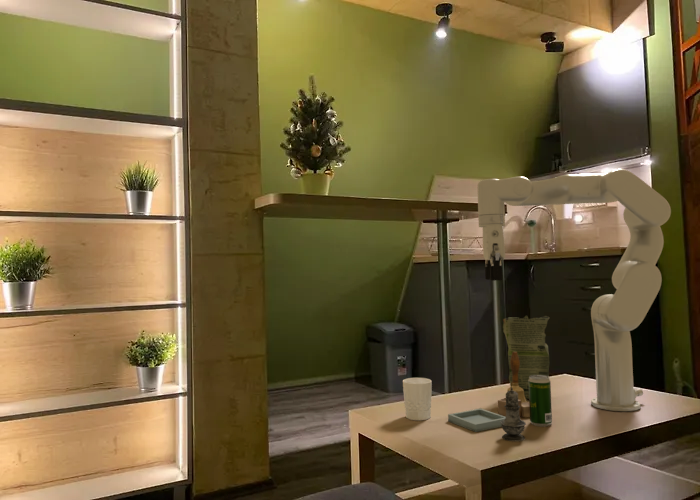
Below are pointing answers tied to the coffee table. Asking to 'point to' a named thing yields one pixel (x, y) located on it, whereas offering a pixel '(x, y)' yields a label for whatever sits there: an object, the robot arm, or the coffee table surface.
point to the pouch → (527, 348)
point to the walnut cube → (503, 410)
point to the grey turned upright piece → (512, 418)
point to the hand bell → (516, 377)
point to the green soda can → (540, 400)
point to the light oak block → (525, 409)
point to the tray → (476, 419)
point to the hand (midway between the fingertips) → (493, 279)
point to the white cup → (417, 398)
